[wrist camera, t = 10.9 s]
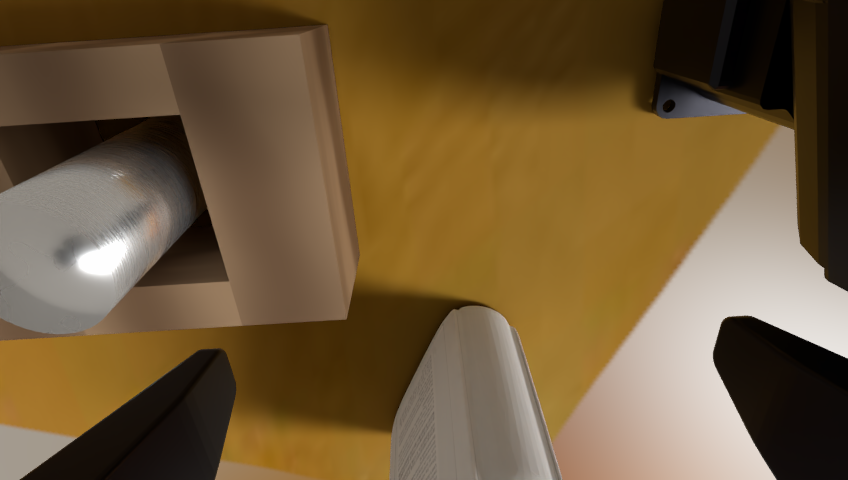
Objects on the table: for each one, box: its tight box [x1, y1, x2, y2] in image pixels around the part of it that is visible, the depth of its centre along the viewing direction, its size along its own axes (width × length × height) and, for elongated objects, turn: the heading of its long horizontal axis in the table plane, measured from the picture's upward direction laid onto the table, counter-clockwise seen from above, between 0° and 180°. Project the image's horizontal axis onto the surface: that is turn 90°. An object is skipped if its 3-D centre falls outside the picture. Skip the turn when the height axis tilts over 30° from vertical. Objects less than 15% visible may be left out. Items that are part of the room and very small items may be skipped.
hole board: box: [0, 25, 360, 341], centre depth 18 cm, size 14×10×5 cm
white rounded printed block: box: [390, 306, 562, 480], centre depth 21 cm, size 10×4×12 cm, turn 159°
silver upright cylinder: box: [0, 115, 207, 334], centre depth 16 cm, size 4×4×9 cm
